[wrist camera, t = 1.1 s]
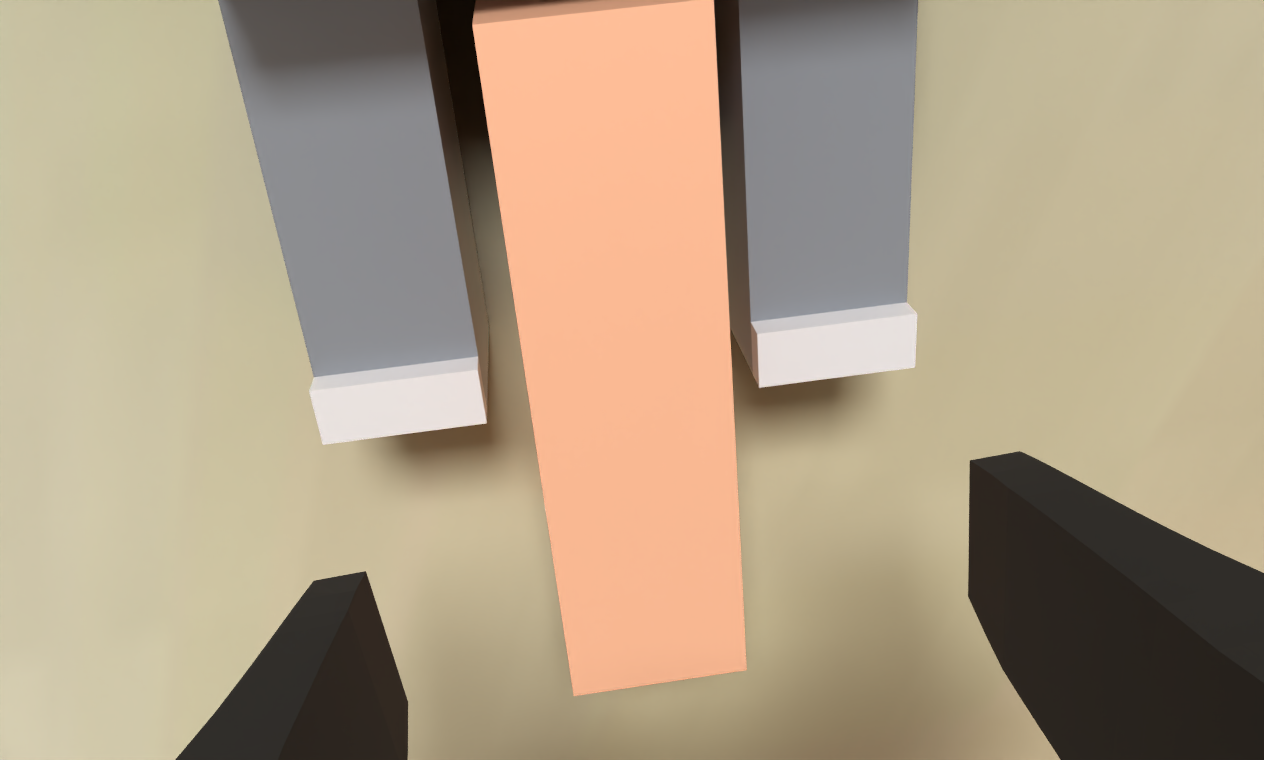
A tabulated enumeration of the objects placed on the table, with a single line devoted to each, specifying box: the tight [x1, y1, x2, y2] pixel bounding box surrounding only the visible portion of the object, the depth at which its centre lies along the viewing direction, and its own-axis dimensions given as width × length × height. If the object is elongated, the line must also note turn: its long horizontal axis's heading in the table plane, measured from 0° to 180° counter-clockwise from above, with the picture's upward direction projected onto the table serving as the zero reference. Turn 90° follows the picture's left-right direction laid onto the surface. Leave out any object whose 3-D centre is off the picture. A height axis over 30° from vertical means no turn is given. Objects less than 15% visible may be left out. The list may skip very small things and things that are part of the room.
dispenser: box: [218, 0, 918, 445], centre depth 16 cm, size 11×10×6 cm
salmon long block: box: [472, 0, 747, 696], centre depth 18 cm, size 11×3×6 cm, turn 5°
